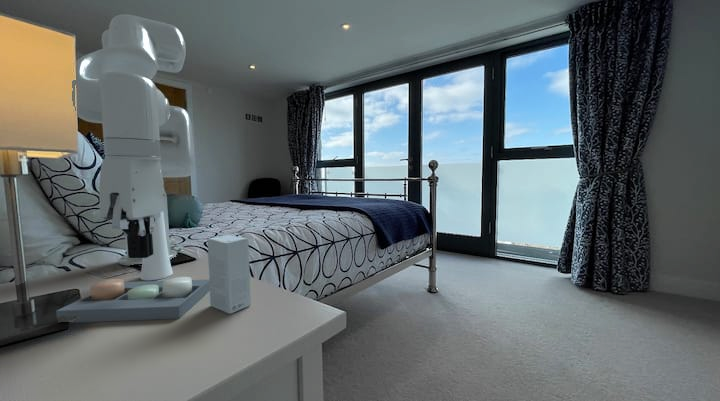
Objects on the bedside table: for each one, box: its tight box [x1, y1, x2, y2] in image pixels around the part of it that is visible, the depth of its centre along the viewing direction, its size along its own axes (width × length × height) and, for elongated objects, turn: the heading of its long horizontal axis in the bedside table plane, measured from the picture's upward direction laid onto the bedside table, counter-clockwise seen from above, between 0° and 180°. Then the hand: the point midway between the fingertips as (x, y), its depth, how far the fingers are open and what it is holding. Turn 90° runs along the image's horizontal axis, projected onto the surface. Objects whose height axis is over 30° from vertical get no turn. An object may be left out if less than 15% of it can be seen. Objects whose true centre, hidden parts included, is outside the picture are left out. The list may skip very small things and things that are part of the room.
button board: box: [55, 279, 210, 324], centre depth 52 cm, size 12×18×2 cm, turn 95°
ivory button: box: [162, 276, 193, 299], centre depth 52 cm, size 4×4×2 cm
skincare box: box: [207, 234, 252, 315], centre depth 51 cm, size 6×4×12 cm
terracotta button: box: [89, 278, 125, 301], centre depth 51 cm, size 4×4×2 cm
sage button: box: [127, 285, 159, 300], centre depth 52 cm, size 4×4×2 cm
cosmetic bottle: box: [139, 211, 174, 281], centre depth 65 cm, size 6×6×22 cm
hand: (141, 256), depth 52 cm, fingers closed
